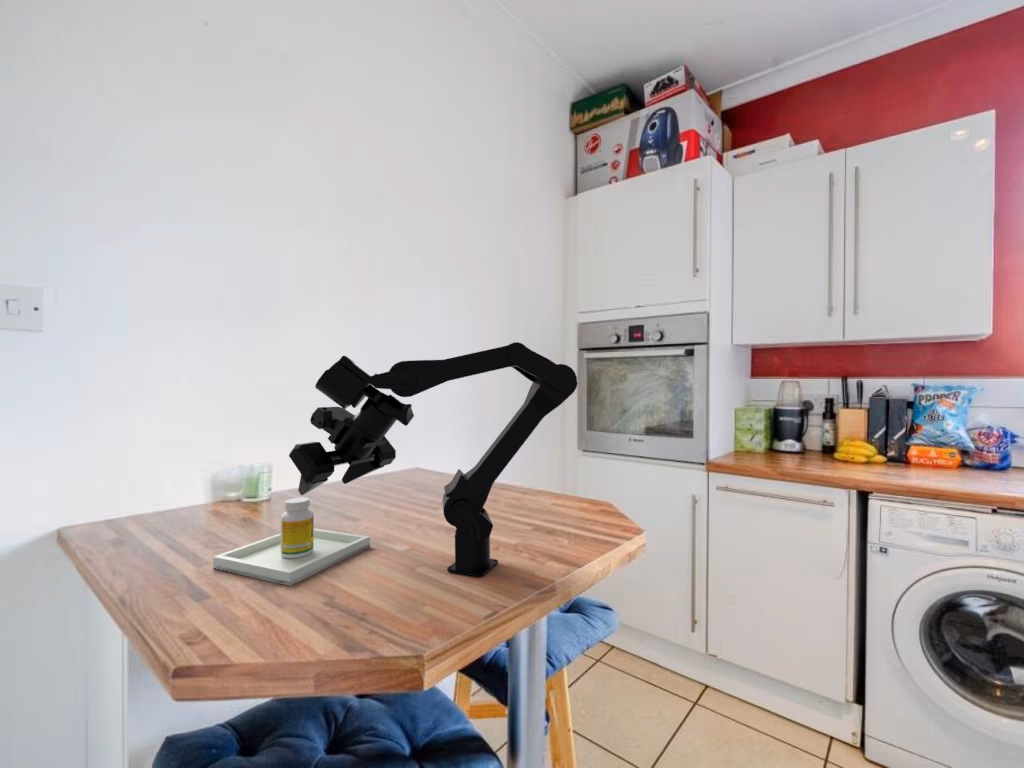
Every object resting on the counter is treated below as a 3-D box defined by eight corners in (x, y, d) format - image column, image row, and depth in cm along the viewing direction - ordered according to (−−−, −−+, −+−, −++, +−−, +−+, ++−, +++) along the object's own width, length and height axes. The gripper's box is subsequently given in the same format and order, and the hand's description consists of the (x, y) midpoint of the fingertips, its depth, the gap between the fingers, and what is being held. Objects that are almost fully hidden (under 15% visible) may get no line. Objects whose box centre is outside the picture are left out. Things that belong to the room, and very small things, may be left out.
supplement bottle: (277, 553, 82) (277, 499, 82) (308, 546, 85) (308, 495, 86) (284, 561, 78) (284, 505, 78) (317, 554, 81) (317, 500, 81)
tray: (289, 585, 70) (289, 572, 70) (213, 568, 77) (213, 556, 77) (370, 547, 86) (370, 536, 86) (300, 535, 93) (300, 526, 93)
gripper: (382, 389, 85) (340, 446, 90) (296, 391, 68) (250, 460, 73) (417, 432, 82) (371, 489, 86) (335, 445, 65) (284, 515, 69)
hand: (323, 487), depth 79 cm, fingers open, 9 cm apart
